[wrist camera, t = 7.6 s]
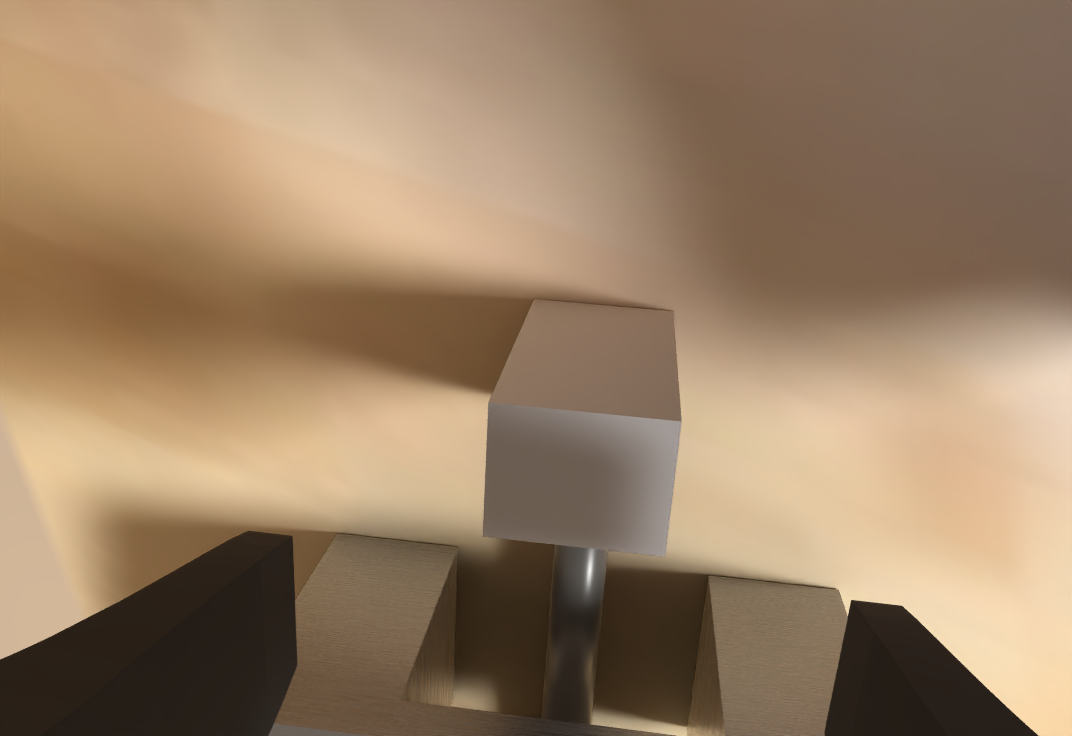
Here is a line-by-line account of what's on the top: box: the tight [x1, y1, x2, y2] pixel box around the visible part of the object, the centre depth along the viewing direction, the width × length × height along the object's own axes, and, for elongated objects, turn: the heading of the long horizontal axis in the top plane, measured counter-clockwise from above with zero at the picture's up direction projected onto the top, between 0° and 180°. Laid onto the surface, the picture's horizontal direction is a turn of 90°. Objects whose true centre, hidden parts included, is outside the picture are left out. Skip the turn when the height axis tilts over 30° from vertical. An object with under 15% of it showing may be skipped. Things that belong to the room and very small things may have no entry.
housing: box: [268, 533, 848, 736], centre depth 20 cm, size 12×4×6 cm, turn 87°
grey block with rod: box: [483, 299, 682, 725], centre depth 20 cm, size 4×16×6 cm, turn 177°
